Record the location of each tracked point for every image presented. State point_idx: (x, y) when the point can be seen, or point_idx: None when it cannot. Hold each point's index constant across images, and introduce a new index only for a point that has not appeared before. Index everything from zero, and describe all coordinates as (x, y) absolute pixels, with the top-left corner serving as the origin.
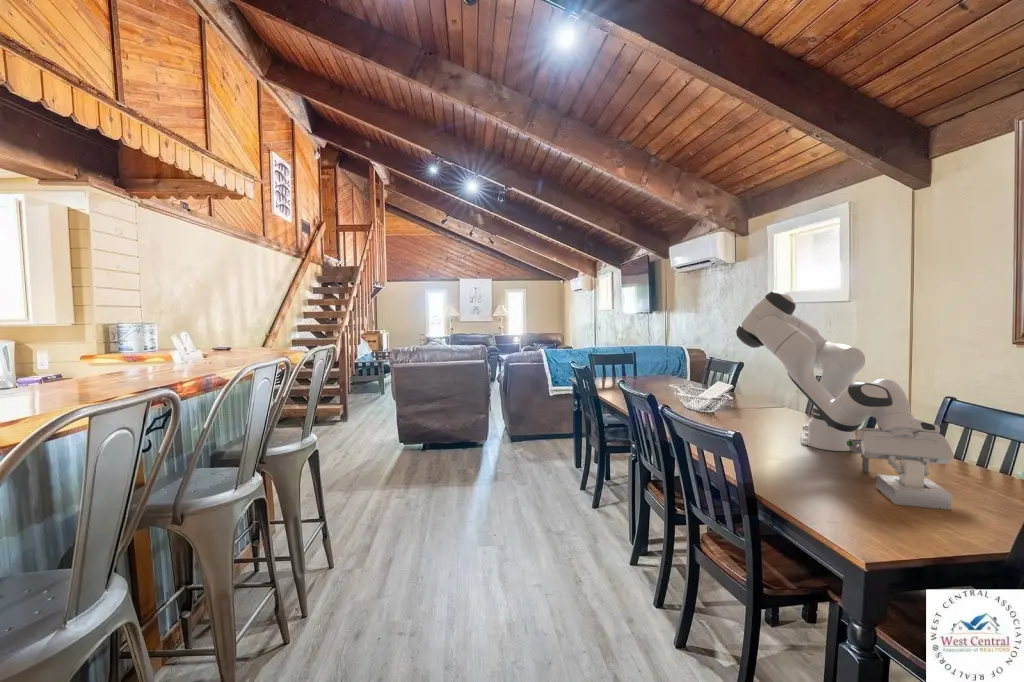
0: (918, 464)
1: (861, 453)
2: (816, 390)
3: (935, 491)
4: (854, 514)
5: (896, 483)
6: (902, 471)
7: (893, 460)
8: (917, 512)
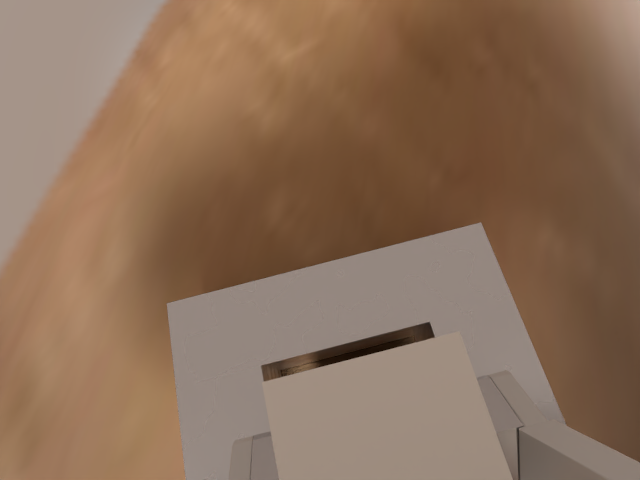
0: (329, 367)
1: None
2: None
3: (246, 316)
4: (600, 32)
5: None
6: None
7: (619, 470)
8: (361, 192)
